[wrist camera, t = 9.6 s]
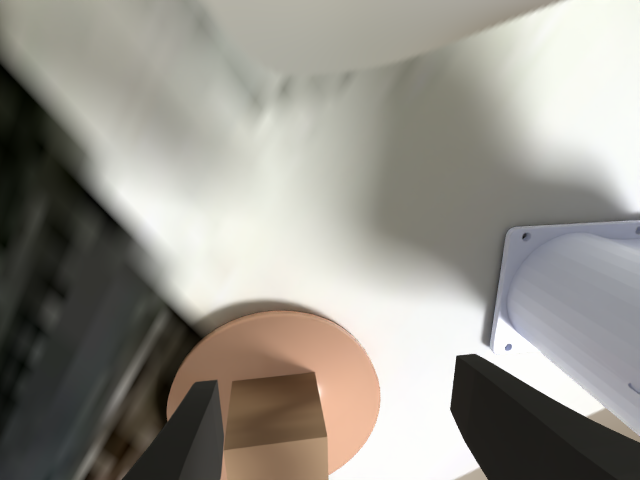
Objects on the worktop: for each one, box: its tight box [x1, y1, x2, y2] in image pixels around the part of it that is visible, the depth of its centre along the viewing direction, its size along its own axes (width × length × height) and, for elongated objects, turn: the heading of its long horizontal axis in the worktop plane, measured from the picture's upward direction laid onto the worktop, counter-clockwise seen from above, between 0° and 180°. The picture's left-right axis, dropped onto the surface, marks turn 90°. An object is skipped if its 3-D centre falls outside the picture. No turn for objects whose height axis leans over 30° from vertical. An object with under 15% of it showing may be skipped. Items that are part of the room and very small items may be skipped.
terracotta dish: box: [167, 310, 380, 480], centre depth 22 cm, size 12×12×1 cm
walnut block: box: [223, 372, 328, 480], centre depth 19 cm, size 4×4×4 cm
